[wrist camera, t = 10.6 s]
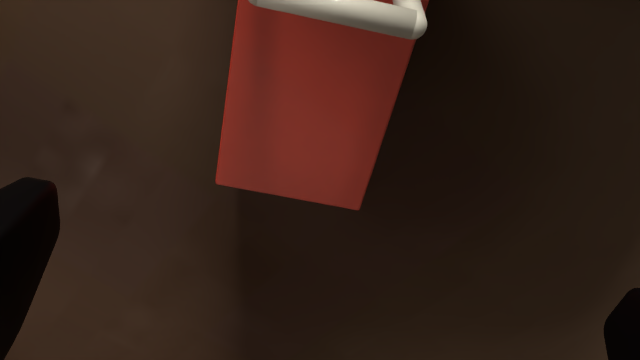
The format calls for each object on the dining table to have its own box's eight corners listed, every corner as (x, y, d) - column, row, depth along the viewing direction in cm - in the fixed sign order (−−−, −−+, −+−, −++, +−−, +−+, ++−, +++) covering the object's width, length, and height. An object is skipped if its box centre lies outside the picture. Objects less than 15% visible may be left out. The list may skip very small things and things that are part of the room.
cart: (264, -97, 16) (229, -32, 11) (417, -62, 16) (448, 18, 11) (235, 115, 20) (200, 233, 15) (357, 140, 20) (361, 261, 15)
